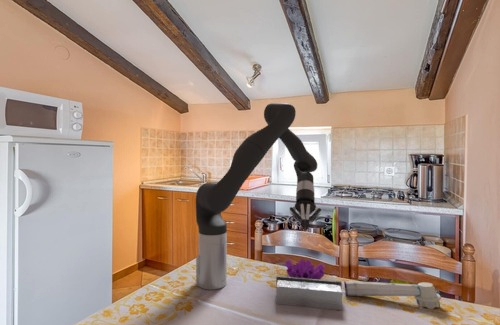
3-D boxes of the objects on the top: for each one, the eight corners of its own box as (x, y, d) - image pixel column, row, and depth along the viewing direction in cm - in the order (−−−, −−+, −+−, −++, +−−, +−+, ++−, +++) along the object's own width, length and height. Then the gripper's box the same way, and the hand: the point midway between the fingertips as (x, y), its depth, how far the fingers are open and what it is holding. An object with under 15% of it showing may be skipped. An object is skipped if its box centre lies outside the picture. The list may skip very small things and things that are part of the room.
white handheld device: (343, 277, 90) (434, 277, 82) (346, 299, 89) (437, 300, 82) (344, 285, 85) (440, 284, 77) (347, 307, 84) (444, 309, 77)
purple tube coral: (308, 282, 102) (324, 262, 101) (309, 302, 88) (329, 280, 87) (283, 262, 104) (299, 242, 103) (280, 278, 89) (299, 256, 88)
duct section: (274, 303, 81) (274, 283, 81) (276, 293, 86) (276, 275, 86) (343, 310, 77) (343, 290, 77) (341, 300, 83) (341, 281, 83)
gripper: (289, 187, 117) (287, 223, 105) (321, 188, 115) (323, 225, 103) (289, 198, 123) (288, 234, 111) (321, 199, 120) (322, 235, 108)
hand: (305, 229), depth 107 cm, fingers closed
